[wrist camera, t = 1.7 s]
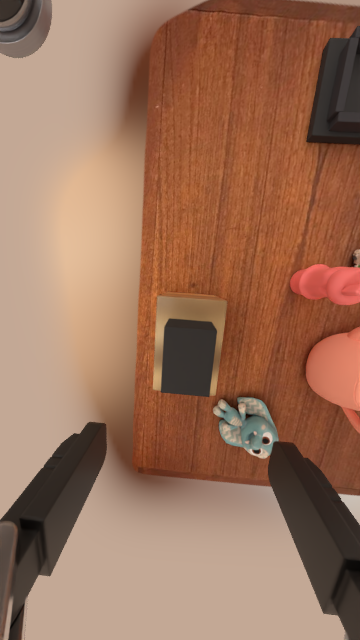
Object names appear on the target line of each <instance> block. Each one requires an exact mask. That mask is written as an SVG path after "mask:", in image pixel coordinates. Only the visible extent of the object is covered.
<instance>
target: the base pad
mask: <svg viewBox="0 0 360 640" xmlns="http://www.w3.org/2000/svg"><path fill="white" fill-rule="evenodd" d="M307 142H321V143H342V144H360V26H357V28H356V29H355V31H354V32H353V34H352V35H351V37H350V38H330V39H329V41H328V43H327V45H326V46H325V48H324V50H323V55H322V60H321V66H320V71H319V76H318V82H317V87H316V93H315V98H314V103H313V109H312V114H311V120H310V125H309V131H308V136H307Z"/></svg>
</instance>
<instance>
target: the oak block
mask: <svg viewBox="0 0 360 640" xmlns="http://www.w3.org/2000/svg"><path fill="white" fill-rule="evenodd" d="M226 310H227V301H226V300H224V299H222V298H220V297H217V296H215V295H206V294H193V293H180V292H165V293H163V294H160V295H158V296H157V309H156V331H155V353H154V376H153V390H160V391H161V377H162V359H163V341H164V326H165V325H166V323H167V321H168V319H169V318H171V319H184V320H196V321H209V322H212V323H213V325H214V326H215V328H216V330H217V338H216V346H215V354H214V363H213V371H212V379H211V388H210V395H214V396H215V395H216V388H217V380H218V372H219V365H220V357H221V349H222V341H223V333H224V325H225V317H226Z"/></svg>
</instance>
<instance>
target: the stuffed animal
mask: <svg viewBox="0 0 360 640" xmlns="http://www.w3.org/2000/svg"><path fill="white" fill-rule="evenodd" d="M237 400H238V401H237V402H238V404H239V405H238V409H239V412H240V414H239V412H238V411H237V410H236V409H235V408H233V407H230V406H229V405H228V404H227V402H226V401H224V400H223V399H221V400H219V402H218V406H219V407H218V406H217V405H216V406H215V407H214V408H213V413H214V414H215V415H217V416H218V417H223V418H224V419H225V420H220V421H219V430H220V434H221V436H222V438H223V439H224V440H225V442H226V443H228V444H231V445H233V446H239V447H244V448H245V450H246V451H248V452H249V453H250V454H251V455H254V456H257V457H259V458H267V457H268V456H269V455H270V454H271V451H272V446H273V443H274V441H279V439H278V434H277V429H276V427H275V425H274V423H273V421H272V419H271V416H270V414H269V412H268V409H267V407H266V405H265V404H264V403H263V402H262V400H258V399H255V398H252V397H239V398H237ZM222 410H225V411H226V412H223V411H222ZM246 414H250V415H253V416H250V417H249V418H247V419H246V420H245V418H246V417H245V415H246Z"/></svg>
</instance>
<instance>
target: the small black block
mask: <svg viewBox="0 0 360 640" xmlns="http://www.w3.org/2000/svg"><path fill="white" fill-rule="evenodd" d="M216 338H217V330H216V328H215V326H214V325H213V323H212V322H209V321H196V320H184V319H171V318H169V319H168V321H167V323H166V325H165V326H164V341H163V359H162V377H161V392H162V393H173V394H184V395H194V396H205V397H209V396H210V388H211V379H212V371H213V363H214V354H215V346H216Z"/></svg>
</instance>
